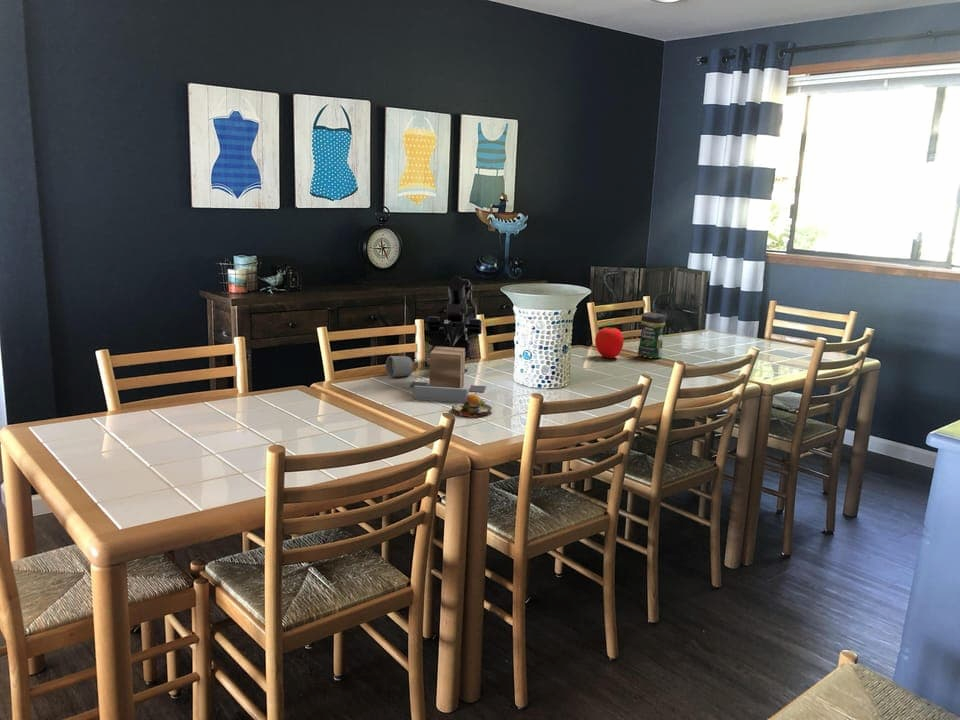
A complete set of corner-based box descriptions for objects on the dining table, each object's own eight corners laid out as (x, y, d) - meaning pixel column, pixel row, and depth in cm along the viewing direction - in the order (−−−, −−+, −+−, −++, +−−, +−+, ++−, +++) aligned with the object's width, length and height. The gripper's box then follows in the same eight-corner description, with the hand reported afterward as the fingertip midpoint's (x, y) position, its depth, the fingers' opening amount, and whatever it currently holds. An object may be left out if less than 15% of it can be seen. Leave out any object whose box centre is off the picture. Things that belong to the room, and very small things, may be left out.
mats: (412, 382, 264) (412, 381, 264) (485, 386, 262) (485, 386, 262) (408, 387, 257) (408, 387, 256) (483, 392, 254) (483, 391, 254)
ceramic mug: (414, 377, 271) (414, 356, 270) (394, 379, 267) (394, 358, 266) (400, 371, 280) (401, 351, 278) (381, 373, 275) (381, 353, 274)
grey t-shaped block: (418, 392, 251) (418, 380, 250) (469, 395, 250) (469, 383, 249) (413, 398, 243) (414, 386, 242) (466, 402, 242) (466, 389, 241)
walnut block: (434, 383, 264) (435, 346, 261) (463, 385, 263) (465, 347, 260) (429, 392, 252) (430, 353, 249) (459, 394, 251) (461, 354, 249)
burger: (492, 408, 237) (493, 384, 235) (491, 419, 225) (492, 394, 224) (452, 406, 237) (453, 383, 236) (450, 417, 226) (451, 392, 224)
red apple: (626, 357, 320) (629, 327, 318) (616, 361, 311) (618, 330, 309) (601, 353, 326) (603, 323, 323) (590, 357, 317) (592, 326, 314)
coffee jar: (634, 356, 324) (638, 312, 320) (644, 353, 330) (648, 310, 326) (655, 360, 317) (659, 315, 314) (664, 357, 323) (669, 313, 319)
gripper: (428, 293, 267) (422, 330, 259) (482, 296, 265) (478, 333, 257) (431, 312, 276) (425, 349, 268) (483, 315, 275) (479, 352, 266)
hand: (451, 345), depth 265 cm, fingers closed
